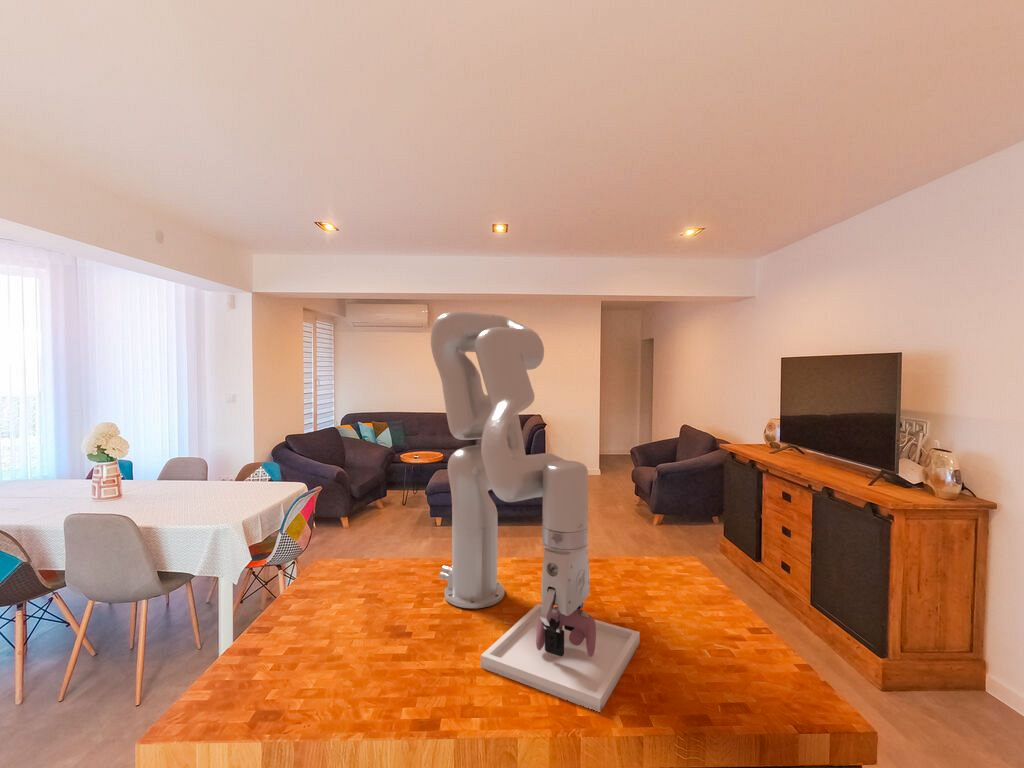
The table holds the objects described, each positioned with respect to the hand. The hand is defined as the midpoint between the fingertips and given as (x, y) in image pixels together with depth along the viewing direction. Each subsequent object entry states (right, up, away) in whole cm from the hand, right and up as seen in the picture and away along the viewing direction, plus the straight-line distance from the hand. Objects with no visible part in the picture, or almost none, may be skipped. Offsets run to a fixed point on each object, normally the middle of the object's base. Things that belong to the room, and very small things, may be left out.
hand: (564, 640), depth 81 cm
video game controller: (0, -1, 0) cm, 1 cm away
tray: (0, -2, 0) cm, 2 cm away
